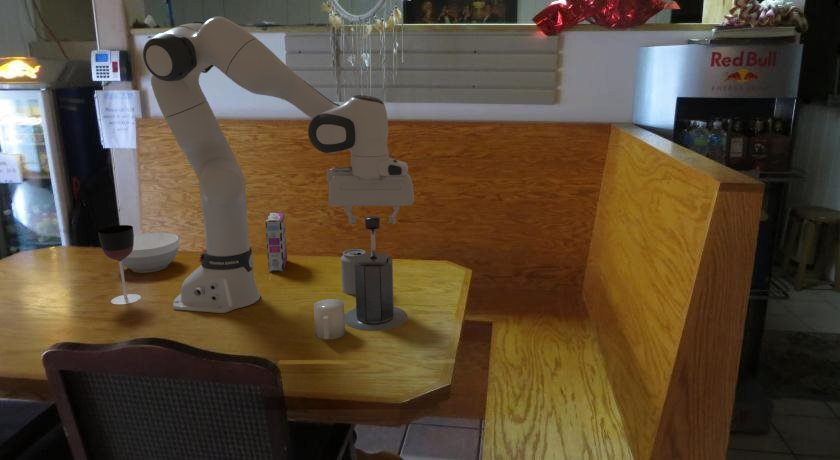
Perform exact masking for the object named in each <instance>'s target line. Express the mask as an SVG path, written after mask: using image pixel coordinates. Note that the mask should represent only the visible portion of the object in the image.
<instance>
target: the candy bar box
mask: <svg viewBox="0 0 840 460" xmlns="http://www.w3.org/2000/svg"><path fill="white" fill-rule="evenodd" d="M285 214H286V213H285V212H270V213H269V214H268V216H267V217H266V219H265V234H266V235H265V236H266V249H267V262H268V263H267V264H268V267H267V268H268V272H270V273H277V272H278V273H281V272H284V271H285V269H286V265H287V262H288V251H287V250H288V248H287V233H286V217H285Z"/></svg>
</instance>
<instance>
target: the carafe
mask: <svg viewBox="0 0 840 460" xmlns="http://www.w3.org/2000/svg"><path fill="white" fill-rule="evenodd" d="M393 261H394V260H393V258H392V257H389V253H376V259H372V256H371V253H365V254H361V257H360V258H357V259H356V261H355V288H356V295H355V308H356V312H357V320H358V321H359V322H361V323H364V324H369V325H379V324H384V323H387V322H390V321H391V320H392V319H393V318H394V307H395V306H394V305H395V303H394V273H393V271H394V270H393V269H394V267H393V266H394V265H393V264H394V263H393ZM366 265H379V266H366Z"/></svg>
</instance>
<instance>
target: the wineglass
mask: <svg viewBox="0 0 840 460" xmlns="http://www.w3.org/2000/svg"><path fill="white" fill-rule="evenodd" d="M97 233H98V238H99V242H100V246H101V249H102V252H103V253H104V255H105V256H106V257H107V258H109V259H111V260H116V261H118V265H119V271H120V272H119V273H120V279H121V285H122V291H123V294H122V295H119V296H115V297H114V298H112V299H111V300H110V303H111V304H114V305H127V304H132V303H135V302H138V301H139V300H141V298H142V296H141V295H140V294H135V293H127V292H128V291H127V287H126V280H125V272H124V265H123V264H122V260H123V259H124V258H126V257H127V256H128V255H130V253H131V252H132V250H133V244H134V235H135V234H134V227H133V225H131V224H130V225H129V224H119V225H118V224H117V225H111V226H107V227H103V228H100V229H99V230H98V231H97Z"/></svg>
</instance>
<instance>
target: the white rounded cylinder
mask: <svg viewBox="0 0 840 460" xmlns="http://www.w3.org/2000/svg"><path fill="white" fill-rule="evenodd" d="M344 315H345V302H344V301H342V300H340V299H335V298H326V299H321V300H318V301H316V302H315V303H313V316H314V317H313V318H314V319H313V320H314V334H315V336H316V337H317V338H318V339H320V340H335V339H340V338H341V337H343V336H344V335H346V334H345V333H346V324H345V317H344Z"/></svg>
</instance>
